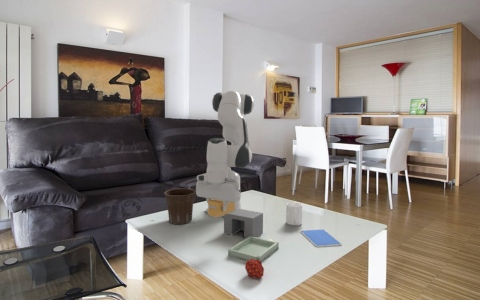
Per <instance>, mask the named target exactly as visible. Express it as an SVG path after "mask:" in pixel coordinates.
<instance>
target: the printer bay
mask: <svg viewBox="0 0 480 300" xmlns="http://www.w3.org/2000/svg"><path fill="white" fill-rule="evenodd" d="M239 231H243V232H244V233H243V234H244V237H243V238H244V239H246V238H248V237H249V236H252V237H257V238H259V236H261V235H262V234H263V232H264V212H260V211H254V210H247V209H243V208H242V209H237V208H235V211H233V212H230V213H227V214H225V215H224V216H223V234H225V235H226V234H227V235H231V236H232V235H234V234H236V233H237V232H239Z"/></svg>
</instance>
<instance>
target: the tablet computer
mask: <svg viewBox="0 0 480 300" xmlns="http://www.w3.org/2000/svg"><path fill="white" fill-rule="evenodd" d="M300 233H301V234H302V235H303V236H304V237H305V238H306V239H307V240H308V241H309V242H310V243H311V244H312V245H313V246H314V247H315V248H327V247H341V246H343V244H342V243H341V242H340V241H339V240H337V239H336V238H335V237H333V236H332V235H331V234H330V233H329V232H327V230H325V229H312V230H311V229H310V230H300Z"/></svg>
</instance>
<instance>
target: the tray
mask: <svg viewBox="0 0 480 300" xmlns="http://www.w3.org/2000/svg"><path fill="white" fill-rule="evenodd" d="M279 248H280V247H279V242H278V241H275V240H274V241H273V240H269V239H266V238H261V237H252V236H249V237H248V238H244V239H243V240H242V241H240V242H238V243H237V244H234V246H232V247H230V248H229V249H228V250H227V256H228V257H231V258H236V259H239V260H242V261H246V260H247V261H248V260H250V259H255V260H260V261H262V262H263V261H264V260H265V258H266V257H267V258H268V257H269V256H271V255H272V254H273V253H274V252H276V250H278V249H279ZM267 258H266V259H267Z"/></svg>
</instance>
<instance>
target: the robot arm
mask: <svg viewBox="0 0 480 300" xmlns="http://www.w3.org/2000/svg"><path fill="white" fill-rule="evenodd" d="M211 105H212V109H213V111H214V112H217V121H218V122H219V124H220V125H221V126H222V137H223V138H222V137H213V138H210V139H209V140H208V141H207V147H206V163H207V165H206V166H207V167H206V172H205V173H202V174H198V175H197V176H196V180H197V182H196V184H195V185H196V186H195V195H196V196H197V197H198V198H205V201H206V203H207V204H208V201H210V200H213V199H215V200H221V201H223V203H224V205H223V206H222V207H221V211H226V206H227V205H228V203H229V202H233V203H234V202H235V208H237V209H243V208H242V202H241V197H242V196H241V194H242V192H241V190H242V188H241V177H240V174H239V173H237V172H236V171H235V170H232V168H239V169H245V168H246V167H248V166H249V165H250V164H251V161H252V160H253V152H252V150H251V149H250V141H249V133H248V124H247V120H246V118H245V117H244V116H246V115H249V114H251V113H252V111H253V109H254V107H255V102H254V98H253V96H252V95H250V94H248V93H247V94H243V93H239V92H237V91H234V90H229V91H226V92H216V93H215V94H214V95H213V98H212V100H211ZM227 141H228V142H229V143H231V144H228V142H227ZM204 211H205V212H206V213H208V207H206V208H205V210H204ZM221 217H224V215H222V216H221Z"/></svg>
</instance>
